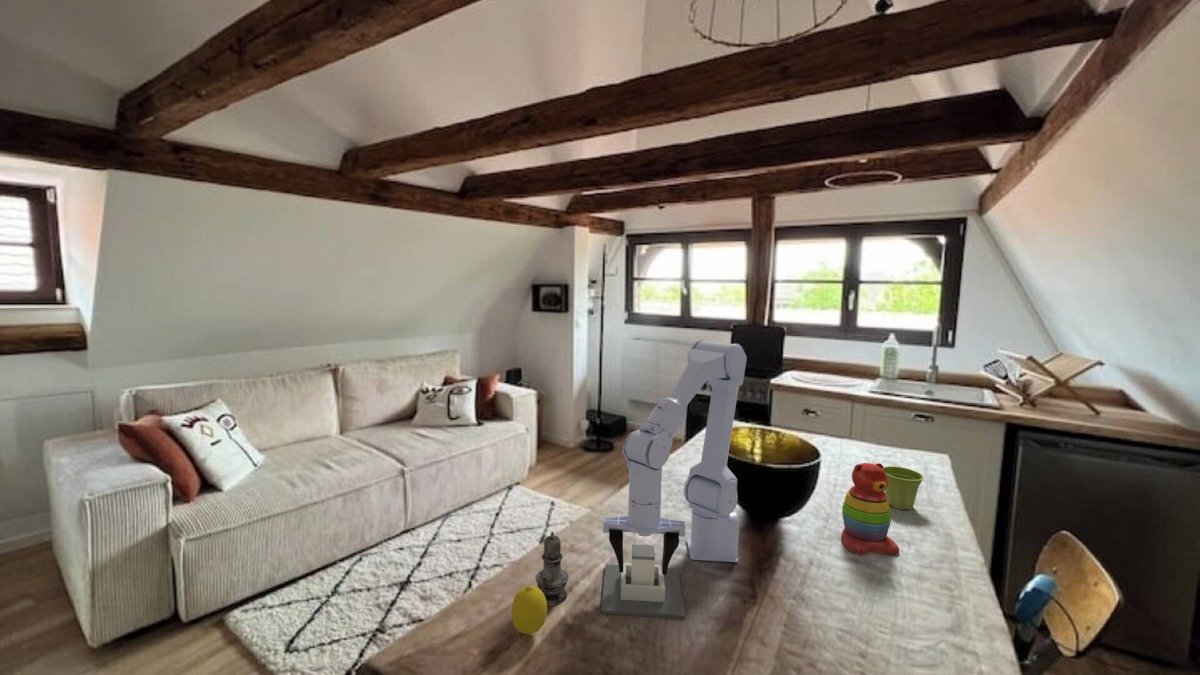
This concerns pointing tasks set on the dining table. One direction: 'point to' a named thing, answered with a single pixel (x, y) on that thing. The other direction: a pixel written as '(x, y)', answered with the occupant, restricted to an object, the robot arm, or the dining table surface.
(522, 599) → the lemon
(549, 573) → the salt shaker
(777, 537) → the dining table surface
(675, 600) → the socket base
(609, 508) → the dining table surface
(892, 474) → the plant pot
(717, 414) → the robot arm
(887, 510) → the stacking bear
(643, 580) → the plug
